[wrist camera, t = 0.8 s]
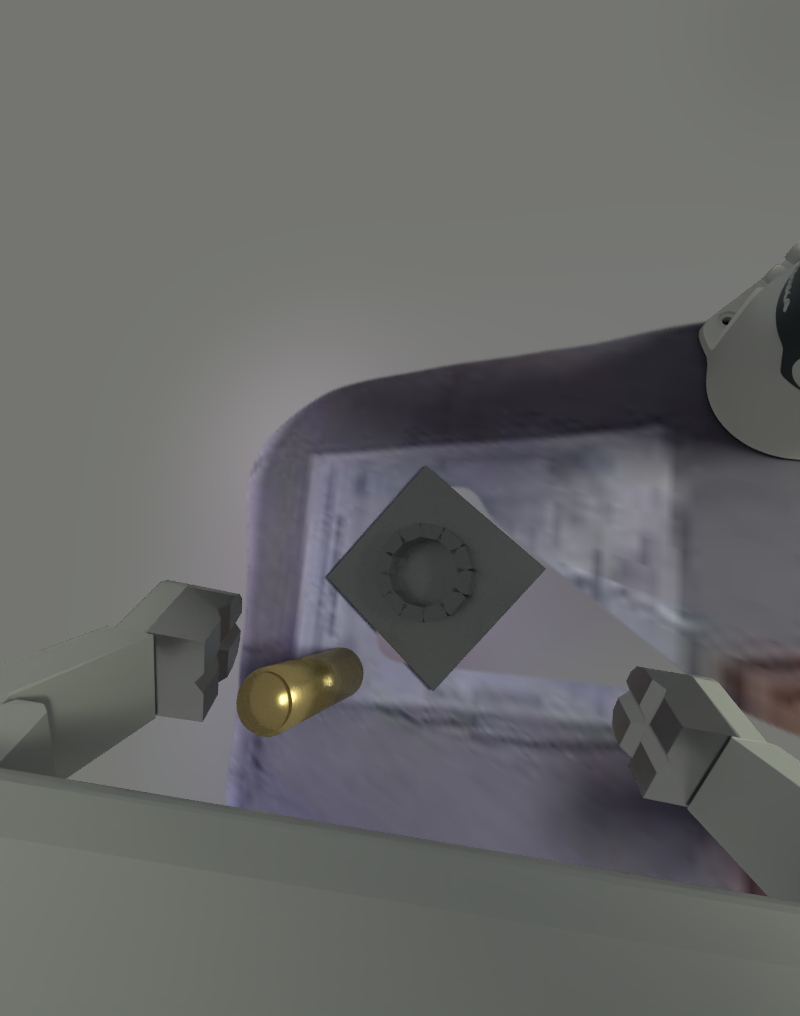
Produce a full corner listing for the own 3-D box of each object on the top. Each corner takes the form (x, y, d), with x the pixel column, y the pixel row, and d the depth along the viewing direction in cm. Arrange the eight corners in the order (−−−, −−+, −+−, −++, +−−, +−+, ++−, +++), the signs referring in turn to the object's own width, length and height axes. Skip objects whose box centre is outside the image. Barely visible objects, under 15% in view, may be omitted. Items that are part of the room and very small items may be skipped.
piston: (341, 637, 49) (263, 654, 36) (372, 673, 48) (304, 705, 34) (310, 671, 50) (221, 701, 36) (340, 708, 48) (260, 754, 34)
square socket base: (426, 466, 50) (418, 457, 47) (545, 569, 45) (546, 567, 42) (329, 577, 51) (314, 575, 48) (434, 689, 46) (426, 697, 42)
